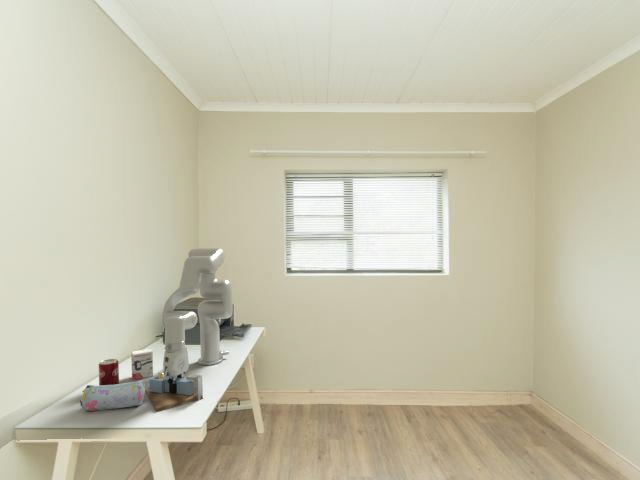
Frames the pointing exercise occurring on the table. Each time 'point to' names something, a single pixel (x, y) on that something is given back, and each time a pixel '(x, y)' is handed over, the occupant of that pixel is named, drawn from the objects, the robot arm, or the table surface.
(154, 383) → the link
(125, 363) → the table surface
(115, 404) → the pencil case
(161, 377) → the peg
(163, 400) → the board
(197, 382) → the plate
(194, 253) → the robot arm
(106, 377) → the soda can
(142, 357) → the ink box
